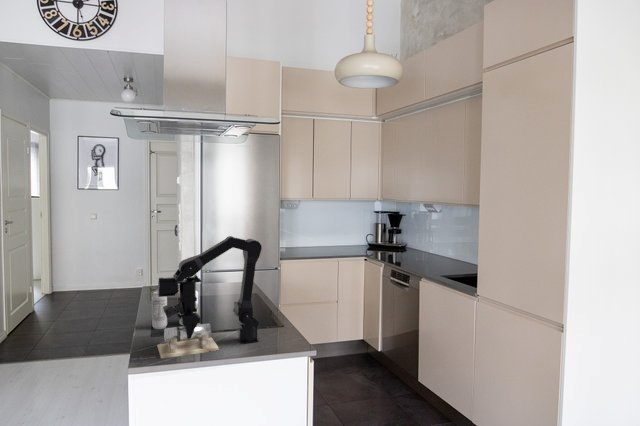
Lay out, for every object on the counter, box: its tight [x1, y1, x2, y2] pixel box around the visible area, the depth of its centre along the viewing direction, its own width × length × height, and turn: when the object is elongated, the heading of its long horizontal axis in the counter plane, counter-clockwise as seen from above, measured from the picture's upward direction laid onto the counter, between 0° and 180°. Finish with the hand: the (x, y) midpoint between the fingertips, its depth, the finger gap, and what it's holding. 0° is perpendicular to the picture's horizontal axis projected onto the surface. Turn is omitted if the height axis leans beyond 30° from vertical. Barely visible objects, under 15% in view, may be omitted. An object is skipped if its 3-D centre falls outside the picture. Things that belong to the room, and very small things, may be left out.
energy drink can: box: [151, 290, 168, 330], centre depth 191 cm, size 6×6×15 cm
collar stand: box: [157, 333, 219, 359], centre depth 167 cm, size 20×12×6 cm, turn 115°
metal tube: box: [163, 322, 212, 344], centre depth 166 cm, size 16×5×5 cm, turn 115°
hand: (187, 336), depth 167 cm, fingers closed on metal tube, 5 cm apart
